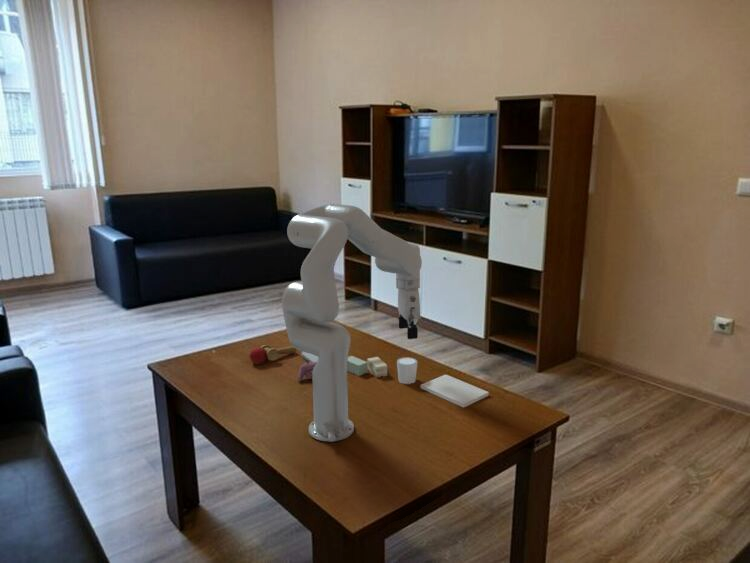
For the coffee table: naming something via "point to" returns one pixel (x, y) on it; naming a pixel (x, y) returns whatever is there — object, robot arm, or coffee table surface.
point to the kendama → (268, 353)
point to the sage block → (356, 365)
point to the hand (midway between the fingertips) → (407, 333)
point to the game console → (309, 357)
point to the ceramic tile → (454, 390)
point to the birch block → (377, 367)
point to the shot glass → (407, 370)
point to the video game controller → (306, 370)
